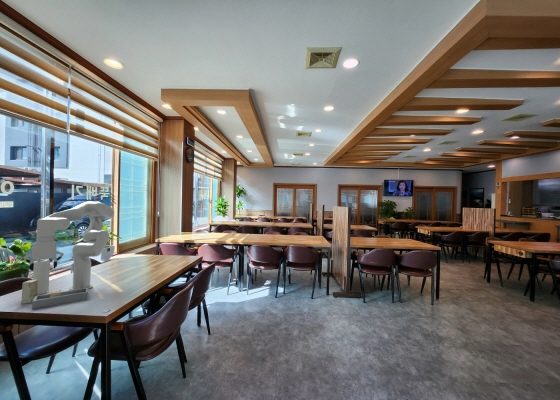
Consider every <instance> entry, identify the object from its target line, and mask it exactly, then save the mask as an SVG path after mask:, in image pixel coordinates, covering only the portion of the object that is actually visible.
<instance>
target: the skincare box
mask: <svg viewBox="0 0 560 400" xmlns="http://www.w3.org/2000/svg"><path fill="white" fill-rule="evenodd" d="M21 286H22V287H21V288H22V289H21V302H20V303H21V305H23V304H24V305H25V304H31V303H33V300H34V298H35V296H38V295H37V290H38V280H33V279H29V280H27V281H24V282H22V285H21Z"/></svg>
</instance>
